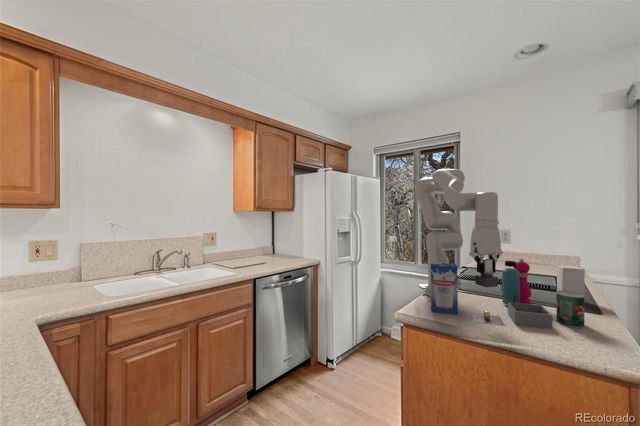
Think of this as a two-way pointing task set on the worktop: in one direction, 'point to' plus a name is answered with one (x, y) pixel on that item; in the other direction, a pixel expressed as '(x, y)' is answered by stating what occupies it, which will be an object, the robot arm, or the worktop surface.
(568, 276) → the skincare box
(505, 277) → the beverage bottle
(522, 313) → the bin
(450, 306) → the milk carton
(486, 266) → the silver rounded piece
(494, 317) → the stud plate
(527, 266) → the pepper mill
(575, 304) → the canned tomato
